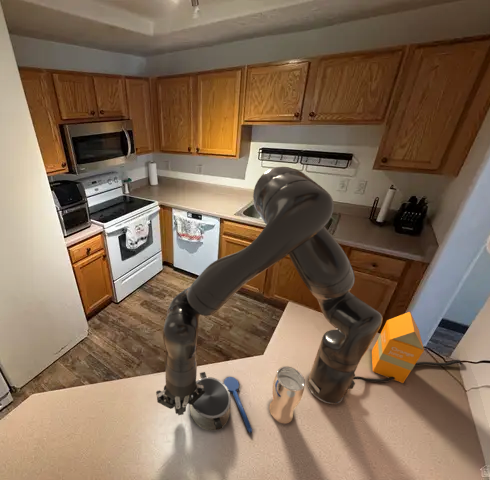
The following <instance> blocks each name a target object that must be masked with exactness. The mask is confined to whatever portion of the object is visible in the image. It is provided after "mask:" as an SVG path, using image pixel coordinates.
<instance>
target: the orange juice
mask: <svg viewBox="0 0 490 480" xmlns="http://www.w3.org/2000/svg"><path fill="white" fill-rule="evenodd" d="M421 336H422V335H421V332H420V329H419V327H418V325H417V322H416V321H415V319H414V316H413V314H412V313H411V311H408V312H406V313H402V314H400V315H398V316H394V317H392V318H389V319H386V321H385V324H384V326H383V327H382V330H381V331H380V333H379V335H378V337H377V340H376V341H375V343H374V346H373V347H372V349H371V362H372V372H373V373H376V374H378V375H381V376H383V377H385V378H389V377H394V378H395V379H394V380H393V381H397V382H399V383H401V384H404V383H405V381H406V379H407V378H408V376H409V375H410V373H411V372H412V371H413V370H414V368H415V367H416V366H415V364H416V363H417V362H419V359H420V358H421V356H422V354H423V353H424V352H425V348H424V344H423V340H422V337H421Z"/></svg>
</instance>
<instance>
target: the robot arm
mask: <svg viewBox="0 0 490 480" xmlns="http://www.w3.org/2000/svg"><path fill="white" fill-rule="evenodd" d="M253 188H254V189H253V193H252V194H253V195H252V200H253V201H252V202H253V205H254V209H255V210H256V212H257V214H258V216H260V219H262V221H263V222H264V224H265V227H263V229H262V231H260V232H259V234H258V236H257V237H256V238H255V239H254V240H253V241H252V242H251V243H250V244H249V245H248V246H247V245H246V247H245V248H242V249H241V250H238V251H236V252H234V253H231V254H229V255H225V256H222V257H220V258H218V259H216V260H214V261H213V262H211V263H210V264H209V265H208V266H206V268H205V269H204V270H203V271H202V272H201V273H200V274H199V275H198V277H197V278H195V280H194V281H193V282H192V283H191V284H190V286H188V287H187V288H185V289H183V291H181V292H179V293H178V294H176V296H175V297H173V298H172V299H171V301H170V302H169V305H168V307H167V310H166V314H165V315H166V316H165V319H164V323H163V328H162V329H163V330H162V339H163V344H164V349H165V363H164V364H165V366H164V372H165V385H164V386H163V389H162V390H160V389H159V390H156V392H155V394H156V401H157V403H158V404H160V405H162V406H164V407H166V408H168V409H170V410H171V409H172V410H173V409H174V411H175V414H176V415H177V416H182V415H184V413H186V412H187V406H188V405H189V406H190V405H191V404H193V403H194V402H195V401H196V400H197V399H198V398H200V397H201V396H202V395H203V394H204V393H205V391H204V387H203V384H202V382H199V383H198V384H196V381H197V373H198V372H197V371H198V362H197V357H198V347H197V343H198V335H199V321H200V316H203V317H209V316H212V315H214V314H215V313H217V311H219V310H220V309H221V308H222V307H223V306H224V305H225V304H226V303H228V301H229V300H230V299H231V298H232V297H233V296H234V295H235V294H236V293H237V292H238V291H240V290H241V289H242V288H243V287H244V286H245V285H247V284H248V283H249V282H250V281H252V280H253V279H254V278H256V277H257V276H259V275H260V274H262V273H263V272H265V271H267V270H268V269H270V268H271V267H272V266H274V265H276V264H277V263H279V261H281V260H283V259H284V258H285V257H288V256H289V258H290V260H291V262H292V264H293V267H294V268H295V270H296V271H297V273H298V275H299V277H300V279H301V280H302V283H304V285H305V286H306V287H307V289H308V290H309V292H310V293H311V294H312V295H313V297H314V298H315V299H316V300H317V303H318V306H319V307H320V310H321V313H322V316H323V317H324V318H325V319H326V321H327V322H328V323H329V324H330V325H331V326H333V328H334V329H330V330H327V331H326V332H325V333H323V335H322V337H321V341H320V343H319V346H318V349H317V352H316V355H315V359H314V361H313V364H312V367H311V370H310V372H309V376H308V377H307V380H306V384H307V388H308V390H309V392H310V393H311V394H312V395H313V396H314V398H316V399H317V400H318V401H320V402H321V403H323V404H327V405H331V406H332V405H333V406H334V405H338V404H340V403H342V401H343V399H344V397H345V396H346V395H347V393H348V391H349V390H352V389H354V387H355V384H356V382H355V380H359V381H360V380H362V381H364V382H371V383H373V382H374V383H386V382H390V381H395V380H394V379H395V378H394V377H389V378H388V377H384V378H369V377H368V378H367V377H363V376H356V374H355V372H356V370H357V368H358V366H359V364H360V361H361V360H362V358H363V357H364V355H365V354H366V352H367V351H368V349H369V348H370V345H371V344H372V342H373V340H374V338H375V337H376V335H377V334H378V332H379V330H380V329H381V326H382V324H383V316H382V314H381V313H380V312H379V311H378V310H377V309H375V308H373V306H370V305H369V304H368V303H366V302H365V301H364V300H363V299H360V298H359V297H357V296H356V295H354V294H353V293H351V292H350V291H351V290H352V288H354V284H355V281H356V280H355V272H354V269H353V266H352V264H351V262H350V260H349V258H348V255H347V253H346V252H345V251H344V248H342V246H341V245H340V243H339V242H338V241H337V240H336V239H335V237H334V236H333V235H332V234H331V232H330V231H329V230H328V229H327V227H326V225H327V224H328V223H329V221H330V220H331V217H332V216H333V213H334V208H335V204H334V199H333V197H332V195H331V194H330V193H329V192H328V191H327V190H326V189H325V188H323V187H322V186H321V185H320V184H318V183H317V182H316V181H315V180H313V179H312V178H311V177H310V176H308V175H306V174H305V173H304V172H302V171H300V170H298V169H296V168H293V167H289V166H276V167H273V168H270V169H268V170H267V171H264V173H262V174H261V176H260V177H259V178H258V179H257V182H255V186H254V187H253ZM460 361H461V360H460V359H455V360H454V359H453V360H451V361H448V362H432V361H431V362H430V361H417V362H416V364H415V366H414V367H416V366H438V367H444V366H445V367H446V366H451V365H454V364H460V365H462V363H461V362H460ZM459 362H460V363H459ZM192 395H193V398H192Z"/></svg>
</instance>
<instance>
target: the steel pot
mask: <svg viewBox="0 0 490 480" xmlns="http://www.w3.org/2000/svg"><path fill="white" fill-rule="evenodd" d="M199 377H200V378H199V379H198V380H196V384H198V383H199V382H202V384H203V387H204V391H205V393H204V394H203V395H202V396H201V397H200V398H198V399H197V400H196V401H195V402H194V403H193V404H191V405H189V412H190V415H191V418H192V420H193V422H194V423H195V424H196V425H197V426H199V428H202V429H203V430H206V431H219V430H222V429H223V428H224V426H226V424H227V422H228V420H229V417H230V412H231V404H232V396H231V392H229V390H228V388H227V387H226V385H225V384H224V381H222V380H220V379H218V378H215V377H212V376H207V373H206V371H201V372H199ZM192 398H193V395H192Z"/></svg>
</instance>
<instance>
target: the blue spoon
mask: <svg viewBox="0 0 490 480" xmlns="http://www.w3.org/2000/svg"><path fill="white" fill-rule="evenodd" d="M223 383H224V384H225V385H226V387H227V388H228V390H229V392H230V394H232V395H233V397H234V400H235V403H236V406H237V407H238V410H239V413H240V415H241V417H242V419H243V423H244V425H245V427H246V430H247V432H248V433H252V432H253V427H252V426H251V423H250V420H249V418H248V416H247V413H246V410H245V408H244V406H243V404H242V401H241V399H240V397H239V394H238V390H239V387H240V382H239V381H238V379H236V378H235V377H234V376H228V377H226V378H225V379H224V380H223Z"/></svg>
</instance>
